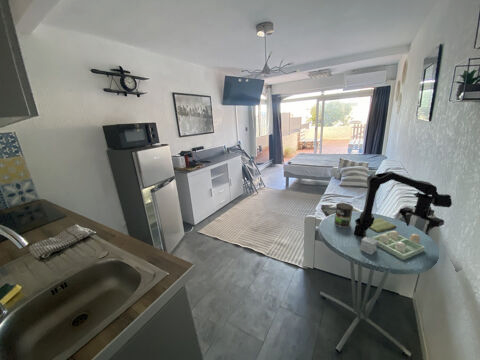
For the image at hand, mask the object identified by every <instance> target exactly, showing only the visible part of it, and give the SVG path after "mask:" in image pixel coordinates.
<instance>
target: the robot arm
mask: <svg viewBox="0 0 480 360" xmlns="http://www.w3.org/2000/svg"><path fill="white" fill-rule="evenodd" d="M389 181H395V182H398V183H400V184H403V185H405V186H409V187H411V188H413V189H416V190H417V192H416V193H414V194H413V196H414V197H415V198H417V200H416V204H415V205H414V208H415V209H414V211H413V209H412V208H409V207H408V206H405V207H403V208H400V209H399V211H398V213H399V214H400V215H401V216H402V217H403V219H404V221H405V223H406V226H407V227H409V226H410V223H411V219H412V216H413V217H414V216H415V217H416V218H419V219H423V220H425V221H428V223H427V225H426V230H425V235H428V234H429V232H431V230H432V229H434V228H436V227H437V228H439V227H442V226H444V225H445V220H444V219H442V218H439V217H430V216H433V215H434V213H435V211H436V210H435V209H434V210H433V209H432V207H431V206H434V207H438V208H439V207H440V208H450V207H451V206H452V205H453V201H452V195H450V194H445V193H444V194H443V193H441V194H440V193H439V192H438V191H437V190H438V189H437V186H436V185H434V184H432V183H430V182H428V181H426V180H425V181H424V180H419V179H418V180H417V179H413V178H410V177H407V176H405V175H401V174H399V173H396V172H393V170H392V171H391V170H389V171H386V172H382V173H376V174H370V175H368V176H367V178H366V186H367V192H366V196H365V202H364V207H363V210H362V212H361V213H360V215H359V217H358V218H357V219H355V220H354V222H355V227H354V231H353V232H354V233H353V234H354V236H356V237H357V238H358V237H360V238H365V237H366V234H367V231H368V230H369V229H370V228H369V227H371V226H372V224H374V223H373V221H374V219H375V216H374V214H373V213H372V212H373V209H374V203H375V198H376V193H377V192H378V190H379V189H380V187H381V185H382V184H385V183H388V182H389Z"/></svg>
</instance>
